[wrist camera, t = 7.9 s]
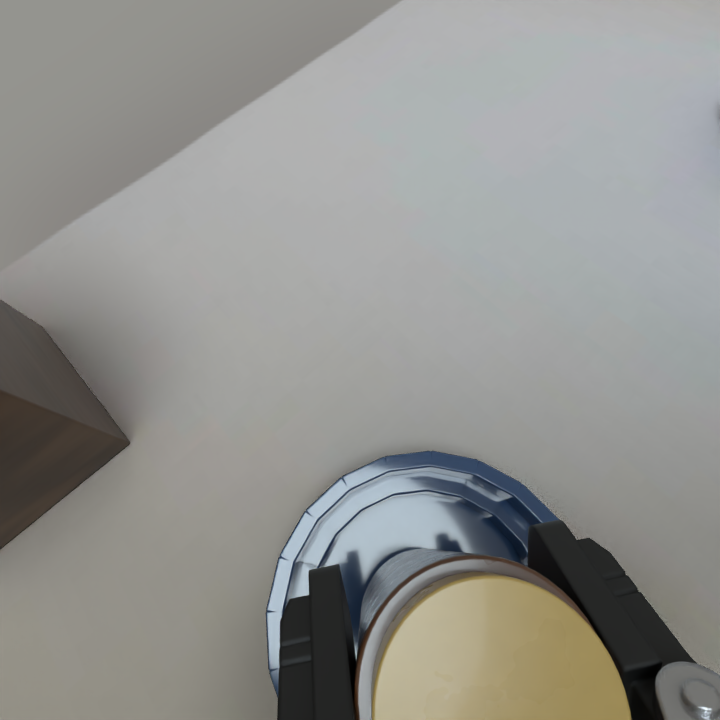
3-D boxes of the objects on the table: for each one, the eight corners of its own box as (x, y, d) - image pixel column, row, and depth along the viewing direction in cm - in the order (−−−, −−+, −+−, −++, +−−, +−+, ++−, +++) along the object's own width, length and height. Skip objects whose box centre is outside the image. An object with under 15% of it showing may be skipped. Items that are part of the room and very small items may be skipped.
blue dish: (353, 841, 17) (349, 911, 14) (244, 534, 21) (220, 532, 18) (621, 686, 19) (674, 717, 15) (475, 424, 22) (494, 404, 19)
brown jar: (396, 723, 16) (439, 992, 6) (339, 583, 18) (306, 633, 8) (517, 656, 17) (721, 811, 7) (452, 526, 18) (549, 509, 9)
